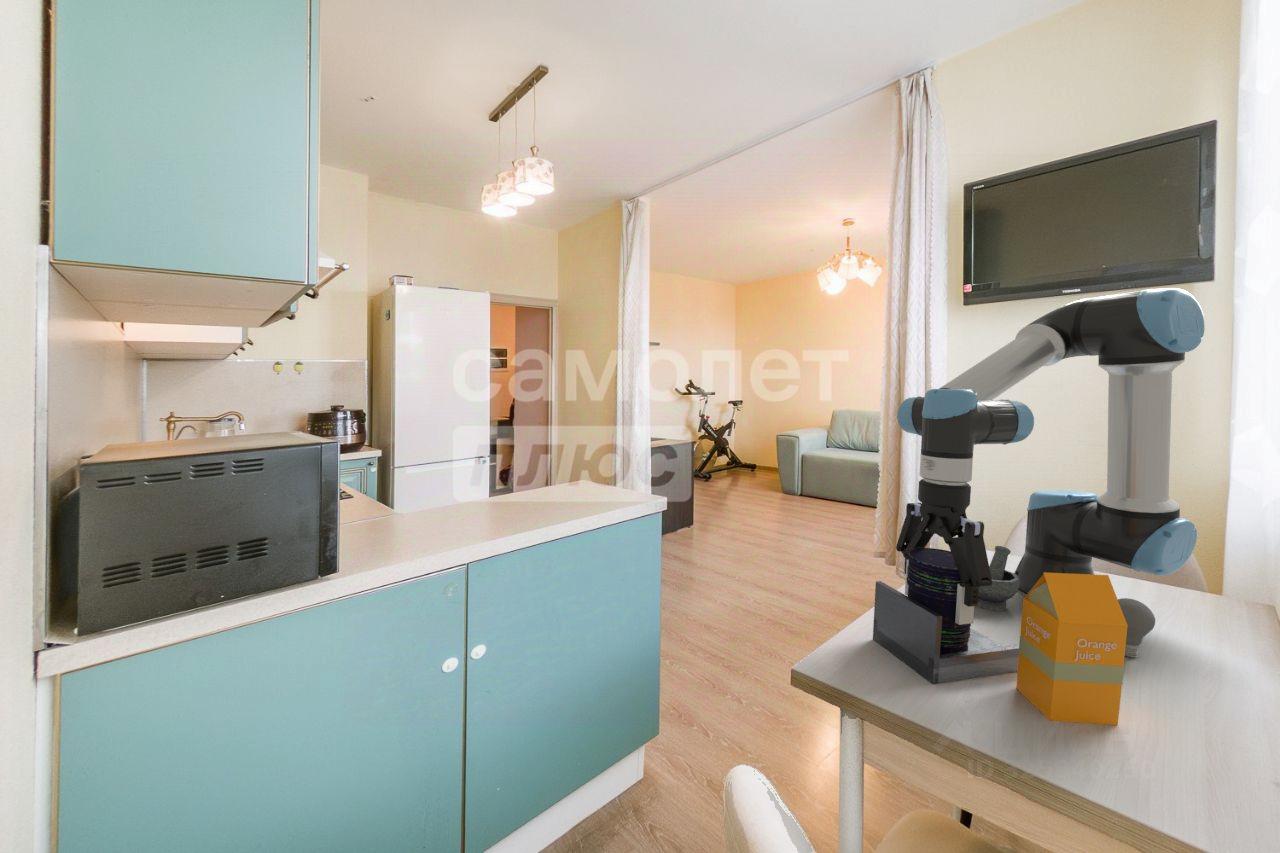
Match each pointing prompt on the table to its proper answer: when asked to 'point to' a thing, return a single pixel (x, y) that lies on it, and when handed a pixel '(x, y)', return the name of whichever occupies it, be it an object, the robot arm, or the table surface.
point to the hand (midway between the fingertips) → (936, 607)
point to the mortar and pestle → (998, 583)
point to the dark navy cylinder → (938, 593)
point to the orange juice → (1073, 648)
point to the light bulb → (1136, 623)
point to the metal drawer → (933, 641)
